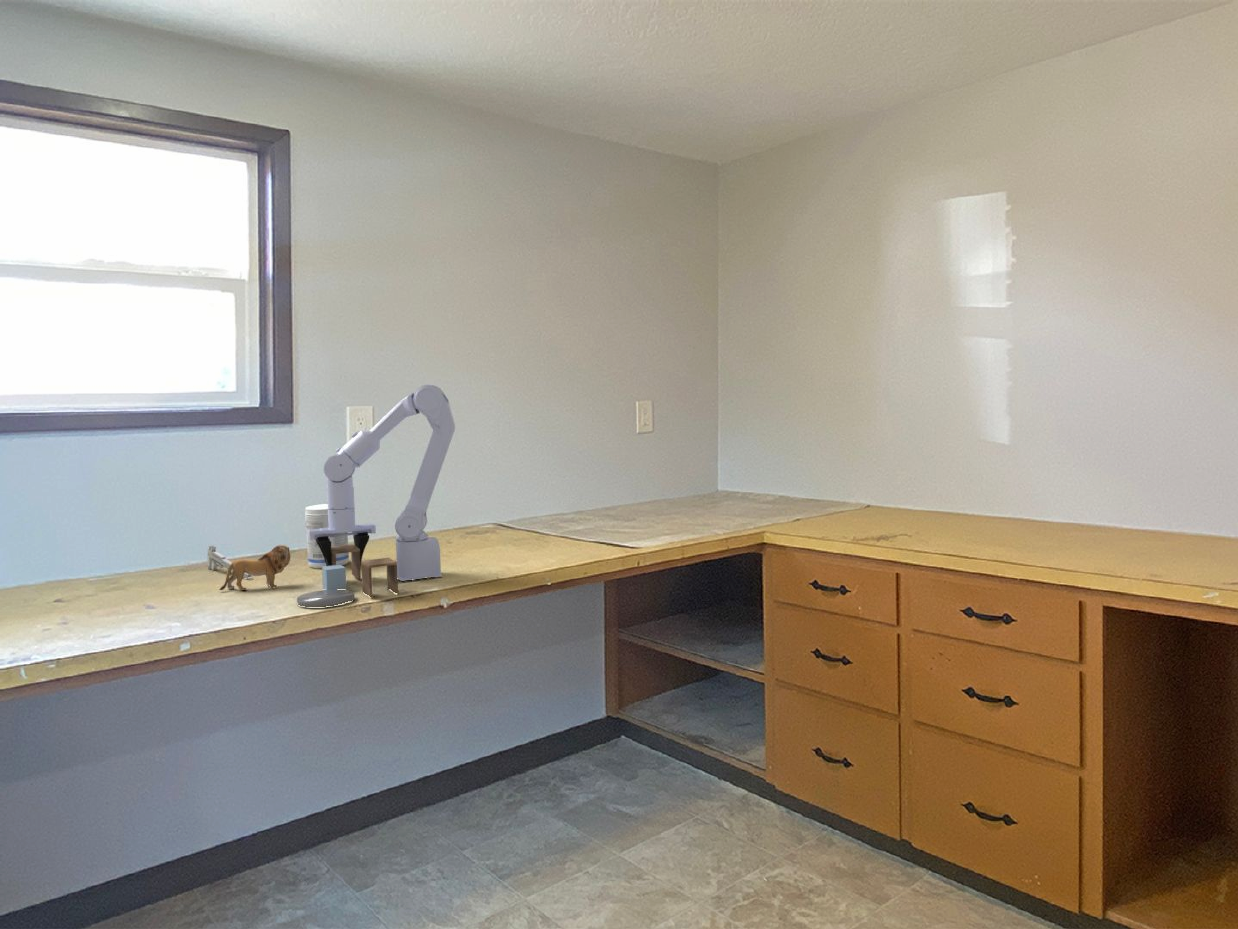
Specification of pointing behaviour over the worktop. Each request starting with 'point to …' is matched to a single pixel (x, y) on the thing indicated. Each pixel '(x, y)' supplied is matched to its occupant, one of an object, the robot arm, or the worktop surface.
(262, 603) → the worktop surface
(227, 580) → the lion figurine
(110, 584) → the worktop surface
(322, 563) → the supplement tub
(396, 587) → the brown wooden stool
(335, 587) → the block
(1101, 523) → the worktop surface
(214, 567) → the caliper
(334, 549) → the brown wooden arch
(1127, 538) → the worktop surface
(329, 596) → the dish
